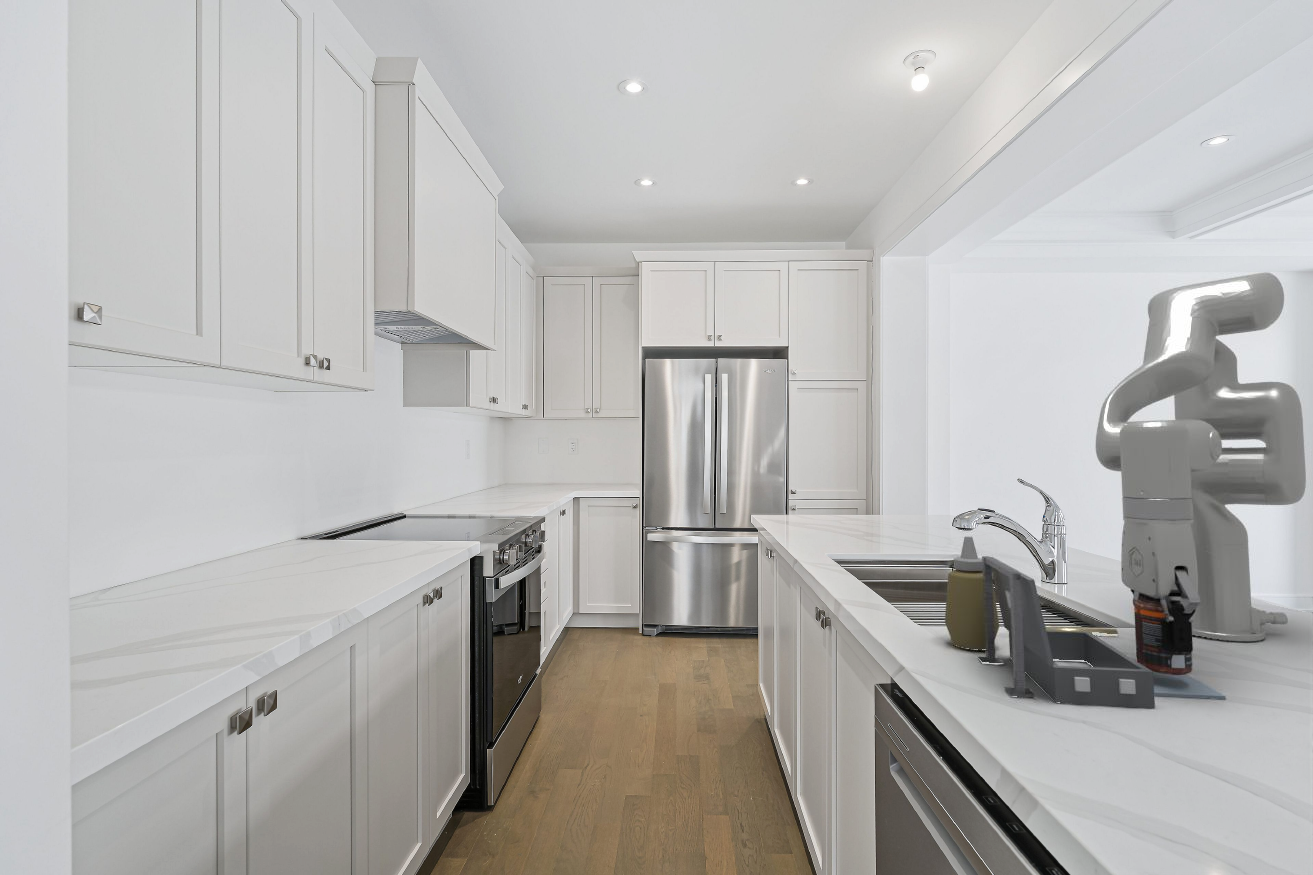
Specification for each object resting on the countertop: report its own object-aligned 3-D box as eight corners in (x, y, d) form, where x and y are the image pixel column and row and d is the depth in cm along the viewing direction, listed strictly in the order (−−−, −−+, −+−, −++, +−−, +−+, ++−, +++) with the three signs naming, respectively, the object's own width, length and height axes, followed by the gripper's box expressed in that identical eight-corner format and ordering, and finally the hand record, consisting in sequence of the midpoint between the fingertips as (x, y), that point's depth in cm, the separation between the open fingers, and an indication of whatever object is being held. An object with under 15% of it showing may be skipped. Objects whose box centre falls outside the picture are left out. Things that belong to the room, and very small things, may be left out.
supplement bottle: (1197, 679, 82) (1192, 591, 82) (1139, 672, 85) (1135, 587, 85) (1188, 666, 87) (1184, 583, 87) (1134, 659, 90) (1130, 579, 90)
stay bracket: (999, 659, 97) (994, 555, 98) (1035, 698, 82) (1030, 574, 83) (977, 659, 98) (973, 555, 98) (1010, 696, 83) (1005, 574, 83)
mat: (1183, 674, 89) (1183, 672, 89) (1225, 699, 80) (1225, 696, 80) (1111, 671, 91) (1111, 668, 91) (1144, 695, 82) (1144, 692, 82)
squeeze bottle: (988, 657, 99) (984, 541, 99) (936, 646, 105) (933, 537, 105) (1008, 646, 104) (1003, 536, 104) (958, 636, 110) (954, 532, 110)
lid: (992, 556, 99) (986, 557, 99) (1034, 579, 81) (1026, 580, 81) (1008, 626, 98) (1002, 627, 98) (1054, 664, 81) (1046, 665, 81)
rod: (1114, 637, 108) (1113, 629, 109) (1118, 637, 107) (1117, 629, 108) (1037, 634, 111) (1036, 626, 111) (1040, 634, 110) (1039, 626, 110)
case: (1089, 661, 96) (1088, 631, 96) (1156, 709, 78) (1155, 672, 78) (1009, 657, 98) (1008, 628, 98) (1057, 704, 80) (1055, 668, 80)
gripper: (1096, 505, 96) (1102, 625, 95) (1160, 517, 79) (1167, 662, 78) (1153, 505, 94) (1159, 627, 93) (1231, 517, 77) (1238, 666, 77)
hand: (1163, 642), depth 86 cm, fingers closed on supplement bottle, 6 cm apart
